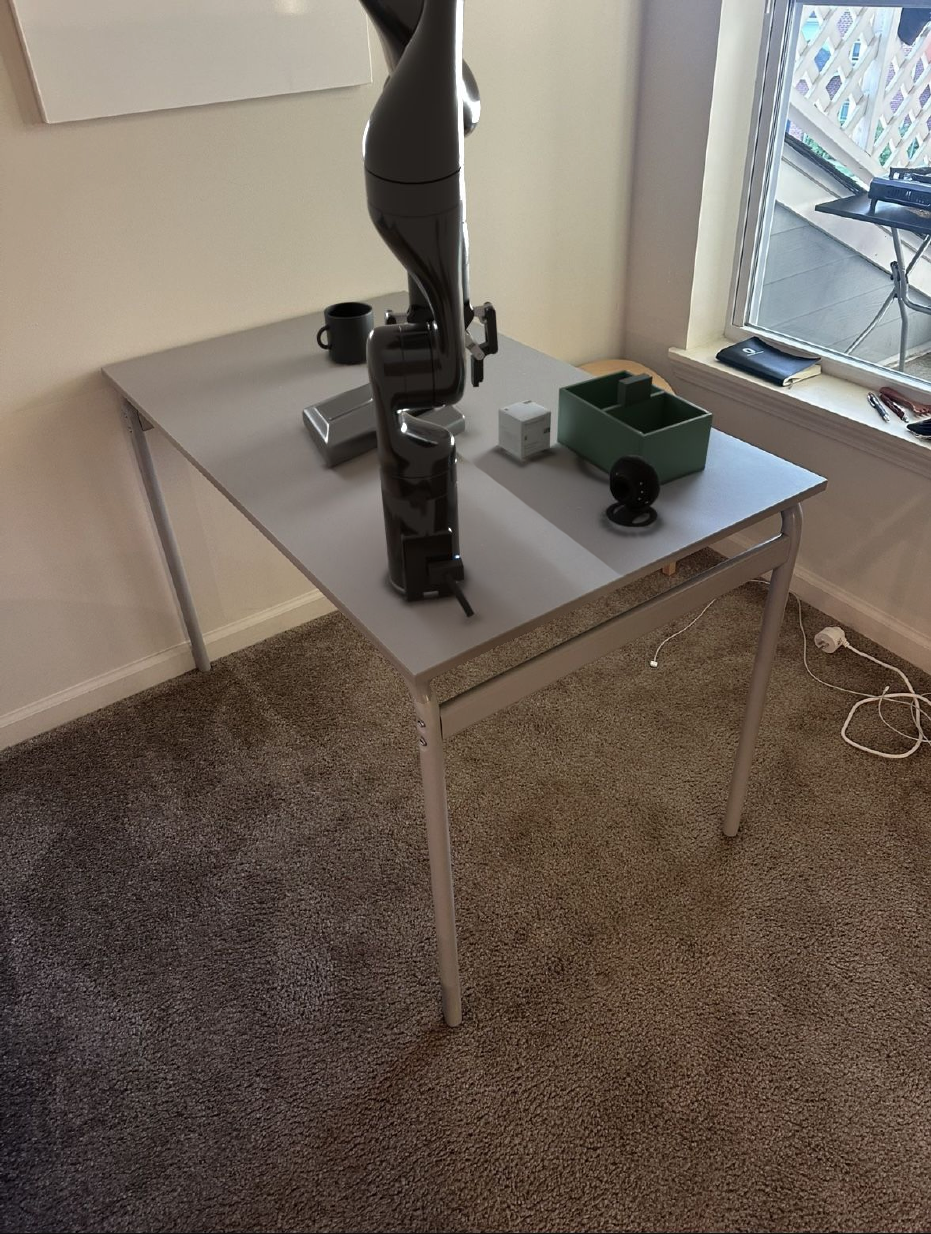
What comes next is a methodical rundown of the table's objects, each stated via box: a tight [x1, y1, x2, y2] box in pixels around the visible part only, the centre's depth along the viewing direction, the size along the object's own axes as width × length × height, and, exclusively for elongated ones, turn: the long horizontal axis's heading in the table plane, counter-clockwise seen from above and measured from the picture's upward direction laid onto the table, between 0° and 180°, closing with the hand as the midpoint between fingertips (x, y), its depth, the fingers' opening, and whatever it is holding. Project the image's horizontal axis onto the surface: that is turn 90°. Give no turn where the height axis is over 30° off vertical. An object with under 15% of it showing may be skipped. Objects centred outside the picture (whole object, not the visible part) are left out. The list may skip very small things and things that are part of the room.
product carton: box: [497, 399, 552, 459], centre depth 141 cm, size 6×6×7 cm
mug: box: [316, 301, 375, 365], centre depth 175 cm, size 9×12×9 cm
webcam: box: [605, 455, 661, 528], centre depth 123 cm, size 8×8×10 cm
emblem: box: [301, 382, 466, 468], centre depth 149 cm, size 28×5×28 cm
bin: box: [556, 369, 714, 486], centre depth 136 cm, size 20×13×12 cm, turn 31°
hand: (443, 387), depth 117 cm, fingers open, 8 cm apart
